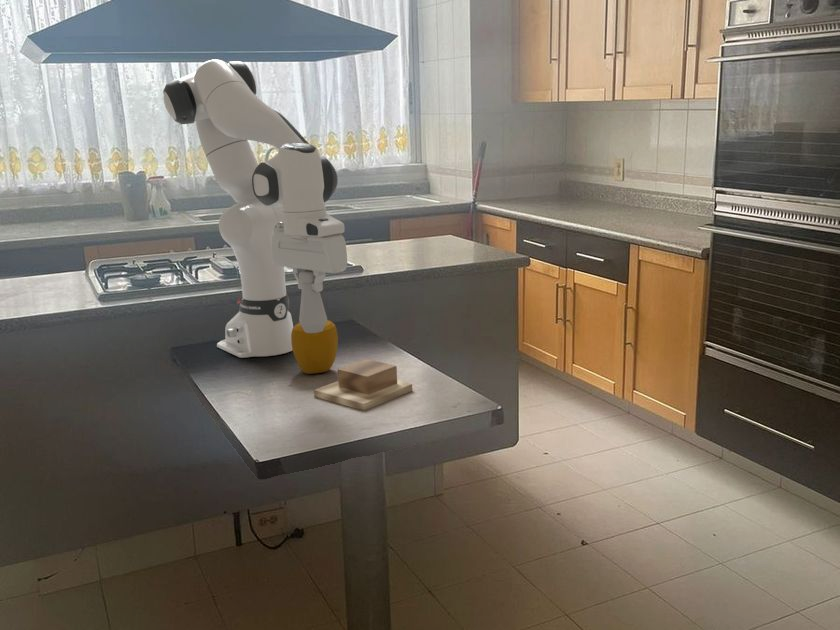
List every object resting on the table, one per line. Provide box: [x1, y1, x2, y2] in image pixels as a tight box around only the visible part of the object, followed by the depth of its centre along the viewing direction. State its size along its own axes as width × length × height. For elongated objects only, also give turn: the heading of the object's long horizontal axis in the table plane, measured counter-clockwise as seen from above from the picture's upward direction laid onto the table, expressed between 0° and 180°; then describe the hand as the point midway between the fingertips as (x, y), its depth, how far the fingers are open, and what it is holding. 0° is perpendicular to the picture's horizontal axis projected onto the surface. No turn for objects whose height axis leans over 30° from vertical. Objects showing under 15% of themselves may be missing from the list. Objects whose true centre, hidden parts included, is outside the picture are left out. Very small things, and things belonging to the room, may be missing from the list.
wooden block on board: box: [313, 358, 413, 411], centre depth 174 cm, size 15×15×6 cm
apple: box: [291, 319, 339, 375], centre depth 190 cm, size 11×11×13 cm
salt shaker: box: [298, 270, 328, 333], centre depth 169 cm, size 6×6×13 cm
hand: (310, 290), depth 169 cm, fingers closed on salt shaker, 3 cm apart
